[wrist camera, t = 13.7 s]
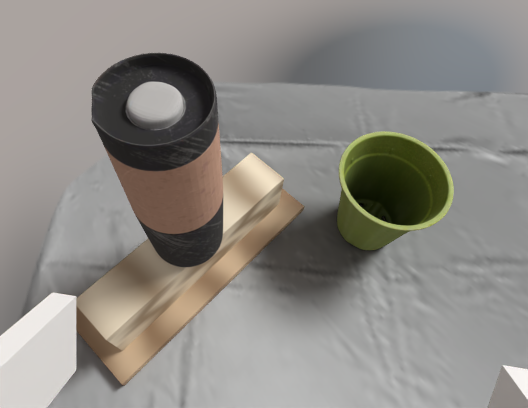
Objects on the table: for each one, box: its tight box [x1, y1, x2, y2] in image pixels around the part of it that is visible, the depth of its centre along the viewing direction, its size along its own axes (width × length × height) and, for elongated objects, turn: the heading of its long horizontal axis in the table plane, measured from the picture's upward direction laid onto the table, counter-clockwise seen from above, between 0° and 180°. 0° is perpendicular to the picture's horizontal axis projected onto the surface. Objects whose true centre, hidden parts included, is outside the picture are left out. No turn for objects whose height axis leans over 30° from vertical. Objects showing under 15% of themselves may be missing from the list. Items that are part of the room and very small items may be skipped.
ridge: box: [76, 153, 304, 386], centre depth 45 cm, size 28×10×7 cm, turn 137°
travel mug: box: [92, 53, 223, 267], centre depth 33 cm, size 8×8×20 cm
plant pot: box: [337, 132, 454, 250], centre depth 46 cm, size 12×12×11 cm
